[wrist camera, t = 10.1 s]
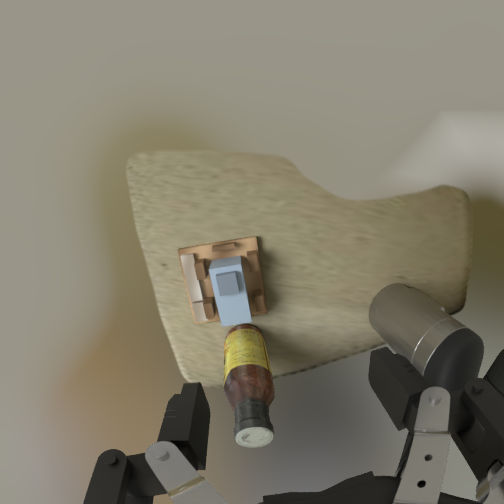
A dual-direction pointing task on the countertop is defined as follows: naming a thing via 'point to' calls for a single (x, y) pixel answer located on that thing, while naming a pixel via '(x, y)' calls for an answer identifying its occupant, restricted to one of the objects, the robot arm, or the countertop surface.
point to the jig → (199, 280)
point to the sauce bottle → (248, 385)
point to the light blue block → (230, 291)
